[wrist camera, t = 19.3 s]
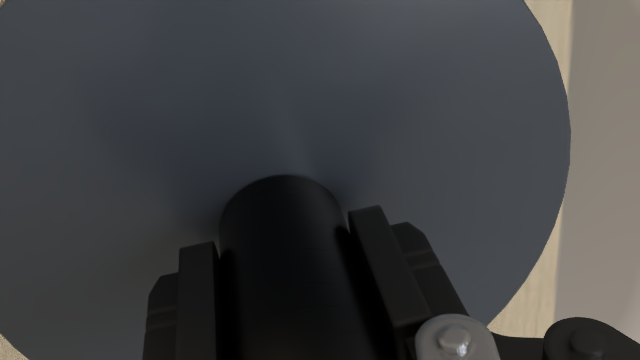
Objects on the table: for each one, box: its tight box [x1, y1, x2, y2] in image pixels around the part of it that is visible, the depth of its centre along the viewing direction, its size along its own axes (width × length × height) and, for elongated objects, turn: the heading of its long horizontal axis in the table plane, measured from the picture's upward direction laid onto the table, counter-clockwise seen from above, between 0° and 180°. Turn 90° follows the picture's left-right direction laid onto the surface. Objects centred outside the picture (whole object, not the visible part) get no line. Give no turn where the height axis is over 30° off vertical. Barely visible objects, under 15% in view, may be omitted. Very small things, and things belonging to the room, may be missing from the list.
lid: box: [0, 0, 571, 360], centre depth 12 cm, size 15×15×7 cm
